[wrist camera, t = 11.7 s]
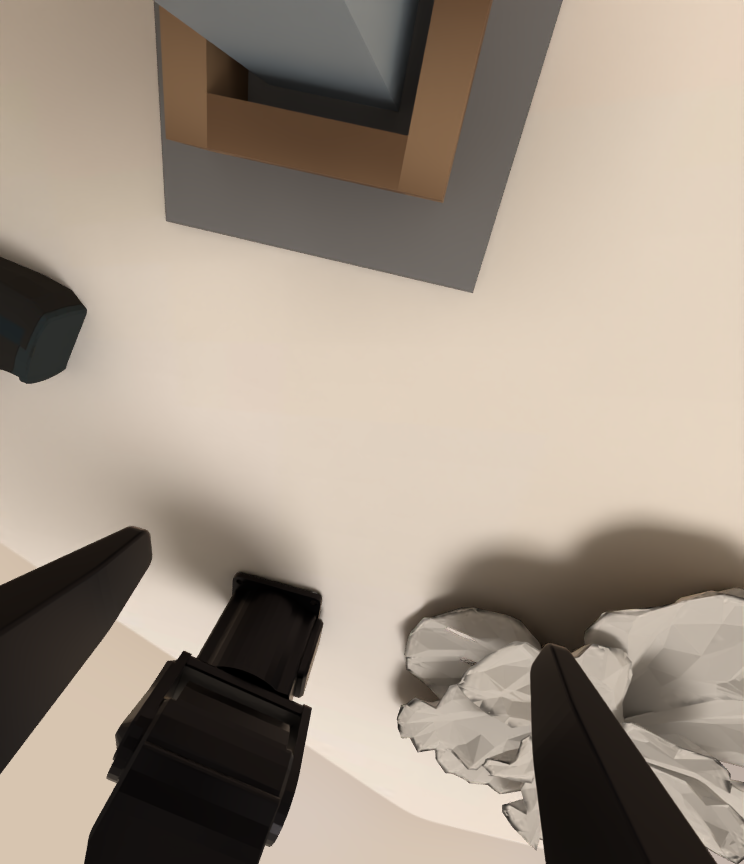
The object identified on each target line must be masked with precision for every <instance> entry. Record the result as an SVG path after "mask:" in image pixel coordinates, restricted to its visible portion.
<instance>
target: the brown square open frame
mask: <svg viewBox="0 0 744 864" xmlns="http://www.w3.org/2000/svg"><path fill="white" fill-rule="evenodd" d="M492 2H493V0H434V6H433V11H432V16H431V21H430V26H429V31H428V36H427V42H426V47H425V52H424V57H423V62H422V67H421V73H420V78H419V83H418V88H417V93H416V98H415V103H414V109H413V114H412V119H411V124H410V129H409V134H408V136H407V135H402V134H397V133H393V132H388V131H383V130H379V129H374V128H370V127H365V126H360V125H356V124H351V123H346V122H342V121H337V120H332V119H328V118H323V117H318V116H314V115H309V114H304V113H300V112H295V111H290V110H286V109H281V108H276V107H272V106H267V105H262V104H258V103H253V102H248V76H249V70H248V69H247V68H245V67H244V66H243V65H241V64H240V63H238V62H237V61H236V60H234V59H233V58H232V57H230V56H229V55H227V54H226V53H225V52H223V51H222V50H221V49H219V48H218V47H216V46H215V45H214V44H212V43H211V42H210V41H208V40H207V39H205V38H204V37H203V36H201V35H200V34H199V33H197V32H196V31H194V30H193V29H192V28H190V27H189V26H188V25H186V24H185V23H183V22H182V21H181V20H179V19H178V18H177V17H175V16H174V15H172V14H171V13H170V12H168V11H167V10H166V9H164V8H163V7H161V6H160V5H159V12H160V32H161V52H162V72H163V92H164V112H165V132H166V139H168V140H172V141H175V142H179V143H183V144H186V145H190V146H193V147H197V148H201V149H204V150H208V151H212V152H216V153H221V154H225V155H230V156H234V157H239V158H243V159H248V160H252V161H257V162H261V163H266V164H270V165H275V166H279V167H284V168H288V169H293V170H297V171H302V172H306V173H311V174H315V175H320V176H324V177H329V178H333V179H338V180H342V181H347V182H351V183H356V184H360V185H365V186H369V187H374V188H378V189H383V190H387V191H392V192H396V193H401V194H405V195H410V196H414V197H419V198H423V199H428V200H432V201H437V202H441V203H443V201H444V197H445V193H446V189H447V185H448V181H449V177H450V173H451V169H452V165H453V161H454V157H455V153H456V149H457V145H458V140H459V136H460V132H461V128H462V124H463V120H464V116H465V112H466V108H467V104H468V100H469V96H470V92H471V88H472V83H473V79H474V75H475V71H476V67H477V63H478V59H479V55H480V51H481V47H482V43H483V39H484V35H485V31H486V26H487V22H488V18H489V14H490V10H491V6H492Z"/></svg>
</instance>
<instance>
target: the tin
mask: <svg viewBox="0 0 744 864" xmlns="http://www.w3.org/2000/svg"><path fill="white" fill-rule="evenodd" d="M153 1H155V2H156V3H157V4H159V5H160V6H161V7H163V8H164V9H166V10H167V11H168V12H170V13H171V14H172V15H174V16H175V17H177V18H178V19H179V20H181V21H182V22H183V23H185V24H186V25H188V26H189V27H190V28H192V29H193V30H194V31H196V32H197V33H199V34H200V35H201V36H203V37H204V38H205V39H207V40H208V41H210V42H211V43H212V44H214V45H215V46H216V47H218V48H219V49H221V50H222V51H223V52H225V53H226V54H227V55H229V56H230V57H232V58H233V59H234V60H236V61H237V62H238V63H240V64H241V65H243V66H244V67H245V68H247V69H248V70H249V71H251V72H252V73H254V74H255V75H256V76H258V77H259V78H260V79H262V80H263V81H265V82H266V83H267V84H269V85H272V86H277V87H281V88H286V89H291V90H296V91H300V92H305V93H310V94H315V95H320V96H324V97H329V98H334V99H339V100H343V101H348V102H353V103H358V104H362V105H367V106H372V107H377V108H382V109H386V110H391V111H396V112H399V109H400V104H401V98H402V93H403V87H404V81H405V76H406V70H407V65H408V59H409V53H410V48H411V42H412V37H413V31H414V26H415V20H416V14H417V9H418V3H419V0H153Z"/></svg>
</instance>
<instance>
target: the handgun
mask: <svg viewBox="0 0 744 864" xmlns="http://www.w3.org/2000/svg"><path fill="white" fill-rule="evenodd" d="M86 314H87V309H86V308H85V307H84V305H83V304H82V303H81V302H80V300H79V299H78V298H77V296H76V295H75V294H74V293H73V291H72V290H70V289H68V288H66V287H64V286H63V285H61V284H59V283H57V282H55V281H54V280H52V279H50V278H48V277H46V276H45V275H43V274H40V273H38V272H35V271H33V270H31V269H28V268H26V267H23V266H21V265H19V264H16V263H14V262H11V261H9V260H6V259H4V258H2V257H0V369H1V370H4V371H7V372H10V373H12V374H14V375H16V376H18V377H19V379H20V381H22V382H24V383H26V384H32V383H37V382H40V381H44V380H46V379H49V378H51V377H53V376H55V375H57V374H58V373H60V372H62V371H63V370H65V369H66V366H67V362H68V360H69V357H70V355H71V352H72V350H73V347H74V345H75V342H76V339H77V337H78V334H79V332H80V329H81V327H82V324H83V322H84V319H85V317H86Z"/></svg>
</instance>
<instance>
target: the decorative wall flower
mask: <svg viewBox="0 0 744 864" xmlns="http://www.w3.org/2000/svg"><path fill="white" fill-rule="evenodd" d="M447 627H449V628H451V629H454V630H456V631H459V632H461V633H464V634H466V635H469V636H470V637H472V638H473V639H474V640H475V641H473V640H470V639H467V638H464V637H461V636H459V635H457V634H455V633H453V632H451V631H449V630H447V629H445V628H447ZM541 650H542V648H541V645H540V643H539V642H538V640H537V639H536V638H535V637H534V636H533V635H532V634H531V633H530V631H529V630H528V629H527V628H526V627H525V625H524V624H523V623H522V622H521V621H520V620H517V619H515V618H513V617H511V616H509V615H505V614H501V613H496V612H492V611H487V610H483V609H479V608H474V607H467V608H459V609H456V610H453V611H449V612H446V613H444V614H441V615H438V616H434V617H423V619H422V620H421V621H420V622H419V624H418V625H417V626H416V627H415V628H414V629H413V630H412V631H411V633H410V635H409V637H408V642H407V646H406V650H405V654H404V655H405V656H406V667H407V670H408V671H409V672H410V673H412V674H413V675H414V676H416V677H417V678H418V679H420V680H421V681H422V682H424V683H425V684H426V685H427V686H428V687H429V688H430V689H431V690H432V692H433V693H434V694H435V695H436V696H437V697H438V698H439V700H440V701H435V702H428V701H424V700H421V699H418V698H416V697H415V698H414V699H412V700H411V701H410V702H408V703H407V704H405V705H401V707H400V710H399V713H398V717H397V721H398V730H399V732H400V735H401V738H410V739H411V741H412V743H413V745H414V746H415V748H416V750H417V752H423V751H429V750H435V753H436V760H437V761H438V763H439V765H440V766H441V767H442V769H443V770H444V772H445V773H451V774H454V775H456V776H458V777H460V778H462V779H464V780H466V781H467V782H468V783H473V784H484V785H488V786H490V787H491V788H492V789H494V790H495V791H496V792H497V793H499V794H504V793H511V792H517V791H521V792H522V796H523V799H522V800H518V801H515V802H511V803H508V804H504V805H502V812H503V814H504V815H505V817H506V818H507V820H508V821H509V823H510V824H511V826H512V827H513V828H514V829H515V830H516V831H517V832H518V833H519V834H520V835H521V836H522V837H523V838H524V839H525V840H526V842H527V843H528V844H529V845H530V846H532V847H533V848H534V849H535V850H537V846H538V843H539V839H540V840H543V838H542V830H541V822H540V814H539V806H538V798H537V790H536V782H535V774H534V765H533V755H532V732H531V695H530V670H531V666H532V663H533V662H534V660H535V659H536V657H537V656H538V654H539V653H540V651H541ZM572 655H573V656H574V658H575V659H576V660H577V662H578V663H579V665H580V666H581V668H582V669H583V671H584V672H585V673H586V675H587V676H588V678H589V679H590V681H591V682H592V684H593V685H594V686H595V688H596V689H597V691H598V692H599V694H600V695H601V697H602V698H603V699H604V701H605V702H606V704H607V705H608V707H609V708H610V709H611V711H612V712H613V714H614V715H615V717H616V718H617V720H618V721H619V722H620V724H621V725H622V727H623V728H624V730H625V731H626V733H627V734H628V735H629V737H630V738H631V740H632V741H633V743H634V744H635V746H636V747H637V748H638V750H639V751H640V753H641V754H642V756H643V757H644V759H645V760H646V761H647V763H648V764H649V766H650V767H651V769H652V770H653V772H654V773H655V774H656V776H657V777H658V779H659V780H660V782H661V783H662V785H663V786H664V787H665V789H666V790H667V792H668V793H669V795H670V796H671V798H672V799H673V800H674V802H675V803H676V805H677V806H678V808H679V809H680V811H681V812H682V813H683V815H684V816H685V818H686V819H687V821H688V822H689V823H690V825H691V826H692V828H693V829H694V831H695V832H696V834H697V835H698V836H699V838H700V839H701V841H702V842H703V844H704V845H705V847H706V848H707V849H709V850H711V851H713V852H714V853H716V854H718V855H719V856H721V857H723V858H726V859H727V860H730V861H731V862H733V863H735V864H739V863H740V862H741V861H742V860H743V859H744V782H740V781H736V780H731V779H730V773H729V772H728V770H727V769H726V768H725V767H724V766H723V765H722V764H721V763H720V762H719V761H722V762H726V763H729V764H733V765H737V766H741V767H744V589H742V588H732V589H728V590H723V591H719V592H716V591H712V590H711V591H706V592H702V593H698V594H694V595H690V596H685V597H681V598H680V599H679V600H677V601H676V602H675V603H673V604H668V605H664V606H660V607H649V608H639V609H629V610H618V611H608V612H605V613H602V614H601V616H600V617H599V618H598V619H597V620H596V621H595V622H594V623H593V624H592V625H591V626H590V627H589V628H588V629H587V630H586V631H585V636H584V646H583V647H581V648H580V649H578V650H576V651H574V652H572ZM459 657H460V658H465V659H469V660H471V661H474V662H476V664H475V665H470V664H468V663H466V662H463V661H462V660H461V659H460V658H459Z"/></svg>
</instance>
